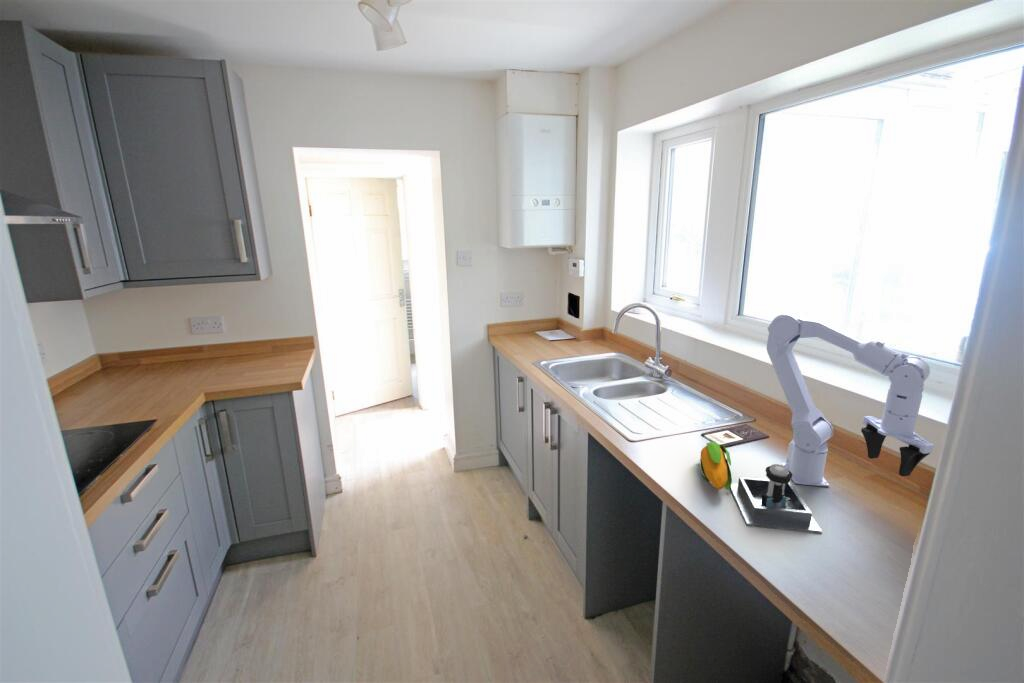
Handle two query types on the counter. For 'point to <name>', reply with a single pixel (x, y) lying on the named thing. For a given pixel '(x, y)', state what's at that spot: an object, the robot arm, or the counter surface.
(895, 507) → the counter surface
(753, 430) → the chocolate bar
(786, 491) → the grey metal tray
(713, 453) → the corn
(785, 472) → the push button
